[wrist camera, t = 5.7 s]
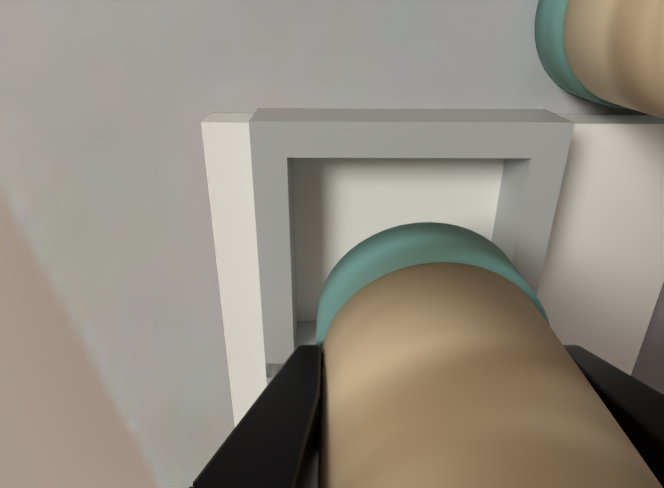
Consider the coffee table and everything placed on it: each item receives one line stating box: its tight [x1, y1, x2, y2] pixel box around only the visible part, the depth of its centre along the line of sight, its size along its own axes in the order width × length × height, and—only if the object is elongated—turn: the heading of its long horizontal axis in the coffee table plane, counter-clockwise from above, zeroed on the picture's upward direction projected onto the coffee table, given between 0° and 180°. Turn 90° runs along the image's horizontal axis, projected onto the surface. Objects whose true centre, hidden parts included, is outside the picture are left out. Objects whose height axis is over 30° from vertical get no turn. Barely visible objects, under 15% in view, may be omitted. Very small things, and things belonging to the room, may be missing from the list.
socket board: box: [201, 108, 664, 427], centre depth 15 cm, size 13×14×3 cm
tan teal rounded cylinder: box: [316, 222, 663, 488], centre depth 7 cm, size 4×4×7 cm
